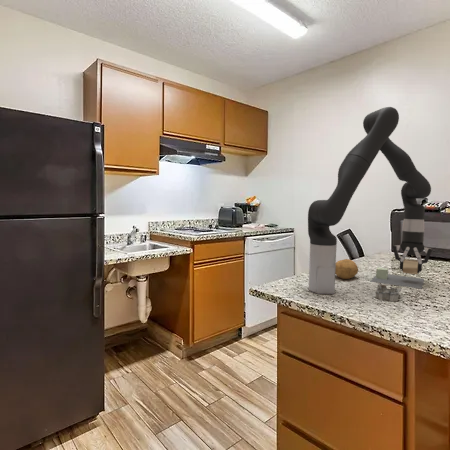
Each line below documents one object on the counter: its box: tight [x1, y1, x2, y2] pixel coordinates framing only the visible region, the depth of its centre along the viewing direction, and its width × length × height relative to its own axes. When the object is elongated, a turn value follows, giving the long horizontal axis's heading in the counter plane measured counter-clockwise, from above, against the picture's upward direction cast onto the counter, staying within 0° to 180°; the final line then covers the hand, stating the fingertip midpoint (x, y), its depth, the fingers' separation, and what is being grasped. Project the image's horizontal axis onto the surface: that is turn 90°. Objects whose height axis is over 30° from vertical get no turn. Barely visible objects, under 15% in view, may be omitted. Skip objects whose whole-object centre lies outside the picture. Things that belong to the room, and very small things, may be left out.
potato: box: [335, 258, 359, 280], centre depth 131 cm, size 10×14×8 cm
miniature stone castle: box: [374, 282, 402, 302], centre depth 106 cm, size 10×7×4 cm
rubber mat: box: [370, 273, 425, 290], centre depth 129 cm, size 20×18×1 cm
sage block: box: [375, 267, 389, 280], centre depth 132 cm, size 4×4×4 cm
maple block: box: [402, 258, 418, 275], centre depth 125 cm, size 5×5×5 cm
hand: (410, 271), depth 126 cm, fingers closed on maple block, 5 cm apart
